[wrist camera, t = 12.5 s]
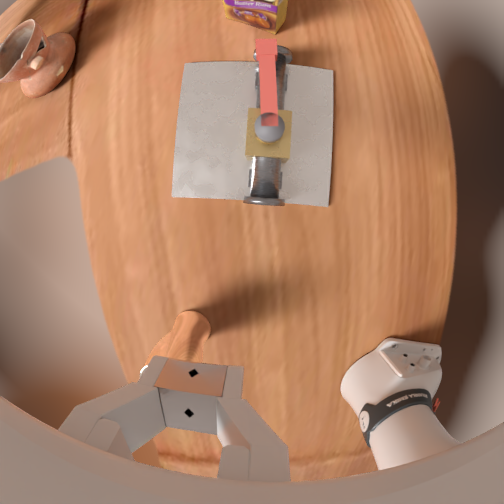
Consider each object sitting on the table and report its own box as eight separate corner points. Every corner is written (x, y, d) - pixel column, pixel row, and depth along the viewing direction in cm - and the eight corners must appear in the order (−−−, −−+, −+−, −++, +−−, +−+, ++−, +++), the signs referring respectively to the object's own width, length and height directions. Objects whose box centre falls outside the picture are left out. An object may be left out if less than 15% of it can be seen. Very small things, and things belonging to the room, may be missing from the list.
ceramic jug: (97, 48, 32) (54, 18, 18) (53, 113, 35) (1, 100, 21) (57, 31, 30) (20, 9, 16) (21, 85, 33) (-22, 73, 19)
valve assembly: (331, 71, 33) (345, 49, 25) (326, 207, 37) (342, 212, 30) (186, 64, 33) (171, 41, 25) (173, 198, 38) (153, 200, 30)
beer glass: (189, 299, 41) (157, 351, 27) (222, 328, 42) (205, 389, 28) (164, 325, 42) (128, 379, 28) (195, 351, 43) (172, 412, 29)
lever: (284, 142, 28) (285, 140, 26) (255, 143, 28) (254, 140, 27) (279, 45, 25) (279, 38, 24) (252, 45, 25) (252, 39, 24)
